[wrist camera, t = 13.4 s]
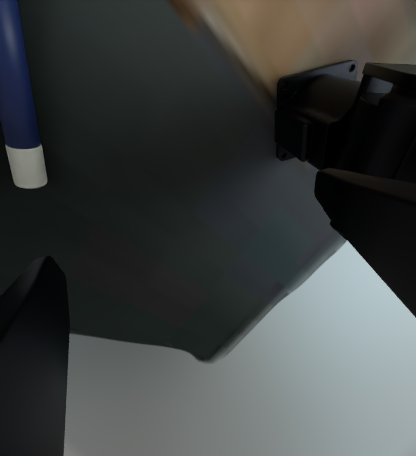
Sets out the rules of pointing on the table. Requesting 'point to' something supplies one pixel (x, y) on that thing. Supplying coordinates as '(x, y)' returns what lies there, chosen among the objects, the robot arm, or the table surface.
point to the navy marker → (18, 103)
